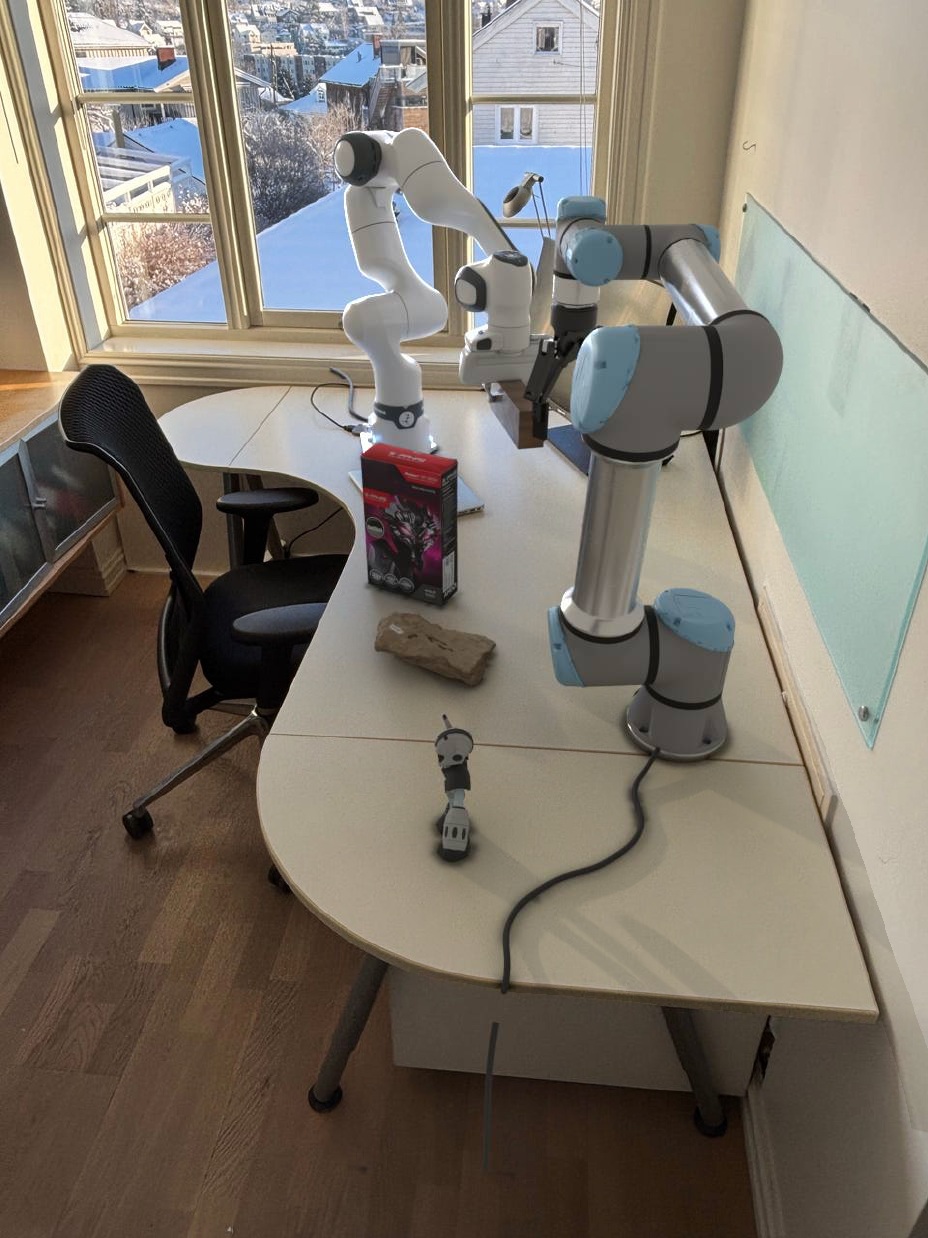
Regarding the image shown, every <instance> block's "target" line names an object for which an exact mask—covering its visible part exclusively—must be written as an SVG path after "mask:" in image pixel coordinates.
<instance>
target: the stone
mask: <svg viewBox="0 0 928 1238" xmlns="http://www.w3.org/2000/svg"><path fill="white" fill-rule="evenodd" d="M496 647H497V642H496V641H494V640H493V639H491V638H489V637H487V636H486V635H482V634H477V633H470V632H465V631H464V632H462V631H459V630H457V629H447V628H442V627H441V626H440V624H438V623H432V622H431V621H430V620H429V619H427V618H425V617H423V616H422V614H419V613H412V612H398V611H395V612H392V613H389V614H387V615H386V616H384V617H383V618H380V620H379V621H378V623H377V627H376V636H375V641H374V647H373V649H374V651H375V652H377V653H380V652H381V653H382V652H383V653H389V654H391V655H392V656H393V657H394V659H395V660H397V661H402V662H407V664H410V665H414V666H420V667H421V668H423V669H427V670H430V671H432V672H433V673H437V674H439V675H441V676H443V677H445V678H449V679H458V680H460V681H462V682H463V683H465V684H467V685H470V686H476V685H478V684H479V683H480V682H481V680H482V678H483V676H484V673H485V667H486V665H487V663H488V661H489V659H490V656H491V655H492V654H493V652H494V649H495V648H496Z"/></svg>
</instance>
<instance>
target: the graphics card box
mask: <svg viewBox="0 0 928 1238" xmlns="http://www.w3.org/2000/svg"><path fill="white" fill-rule="evenodd" d="M359 458H360V470H361V486H362V487H361V488H362V504H363V518H364V534H365V535H364V537H365V551H366V572H367V584H369V585H371V586H374V587H378V588H382V589H384V590H387V591H390V592H391V591H392V592H395V593H397V594H402V595H406V596H408V597H412V598H415V599H418V600H422V601H426V602H429V603H433V604H435V605H439V606H443V605H444V604H446V602H448V601H449V600H450V599H451V598H452V597H453V596H454V595H455V594H456V593H457V592H458V589H459V584H458V583H459V576H458V575H459V574H458V573H459V555H458V554H459V553H458V552H459V551H458V550H459V548H458V547H459V545H458V542H459V541H458V537H459V536H458V535H459V534H458V532H459V531H458V506H459V505H458V503H459V502H458V494H459V493H458V490H459V489H458V484H459V483H458V482H459V481H458V480H459V479H458V477H459V475H458V473H459V468H458V467H459V461H458V458H448V457H444V456H440V455H435V454H431V453H430V454H427V453H422V452H418V451H414V450H410V449H405V448H401V447H397V446H392V445H388V444H384V443H379V442H378V443H376V444H374V445H373V446H371V447H370V448H368V449H367V450H366V451H365V452H364V453H363V452H362V454H361V455H360V457H359Z"/></svg>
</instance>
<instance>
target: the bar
mask: <svg viewBox="0 0 928 1238" xmlns="http://www.w3.org/2000/svg"><path fill="white" fill-rule="evenodd" d="M525 389H526V385H525V384H524V382H523V381H522V380H510V381H497V383H491V388H490V392H491V393H495V395H496V399H495V400H496V403H489V408H490V410H491V411H492V413H493V414H494V415H495V417H496V419H497V420H498V422H499V423H500V425H501V426H502V428H503V429H504V431H505V432H506V433H507V435H508V436H509V438H510V439H511V441H512V442H513V444H514V445H515V447H516V449H517V450H528V449H529V450H531V449H541V448H544V447H545V446H544V445H545V444H544V443H545V441H543V440H540V439H538V438H535V437H532V430H533V420H532V402H531V401H529V400H526V399H524V398H523V395H524V392H525ZM531 393H532V392H531Z"/></svg>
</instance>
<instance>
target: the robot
mask: <svg viewBox="0 0 928 1238" xmlns="http://www.w3.org/2000/svg"><path fill="white" fill-rule="evenodd" d="M442 719H443V722H444V725H445V728H446V729H445V730H443V731H441V732H440V733H439V734H438V735H436V738H435V741H434V742H433V743H434V751H435V753H436V755H437V766H438V767H440V768H441V769H440V770H441V773H442V775H443V777H444V779H445V780H444V781H443V786H444V794H446V797H447V799H448V801H447V804H446V806H445V808H444V811H443V813H442V815H441V816H440V818H438V820H437V821H436V823H435V826H436V828H437V831H438V833H439V834H441V835H442V837H441V839H440V843H439V845H438V847H437V850H436V854H437V855H438V856H440V857H441V859H442V860H444V861H447V862H457V861H459V860H462V859H464V858H466V857H468V856H469V854H470V850H471V839H470V834H469V833H470V816H469V811H468V809H466V807H465V804H464V803H465V802H464V801H465V798H466V791H468V792H469V791H470V792H471V790H472V781H471V774H470V770H469V769H468V761H469V760H470V757H469V754H472V752H473V750H474V745H475V744H474V738H473V736H472V734H471V733H470V732H469V731H468V730H466V729H465V728H462V727H458V726H453V725H452V724H451V722H450V720H449V718H448V716H447V714H445V713H443V715H442ZM465 790H466V791H465Z"/></svg>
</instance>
